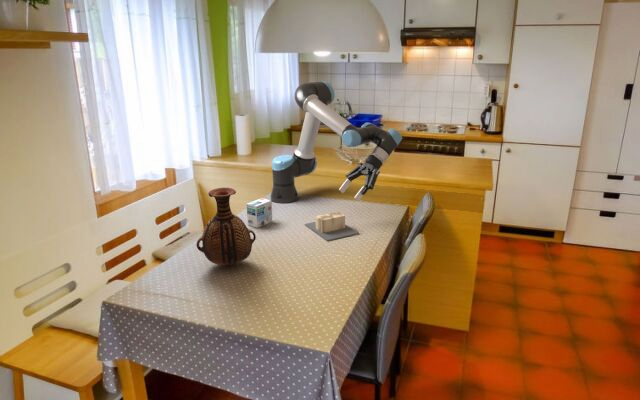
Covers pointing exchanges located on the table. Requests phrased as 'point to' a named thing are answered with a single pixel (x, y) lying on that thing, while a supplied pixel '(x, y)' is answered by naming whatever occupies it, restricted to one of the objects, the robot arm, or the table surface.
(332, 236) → the mat
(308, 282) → the table surface
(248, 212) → the light bulb box
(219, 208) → the vase
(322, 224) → the beech block
